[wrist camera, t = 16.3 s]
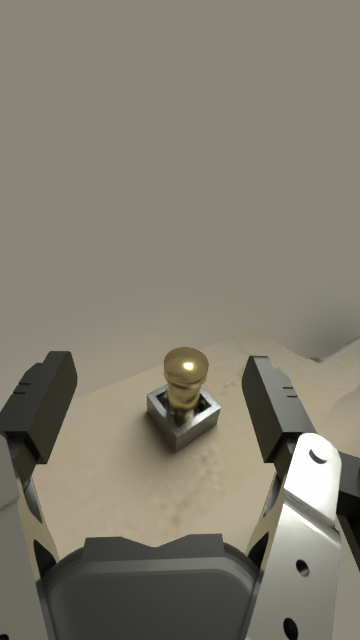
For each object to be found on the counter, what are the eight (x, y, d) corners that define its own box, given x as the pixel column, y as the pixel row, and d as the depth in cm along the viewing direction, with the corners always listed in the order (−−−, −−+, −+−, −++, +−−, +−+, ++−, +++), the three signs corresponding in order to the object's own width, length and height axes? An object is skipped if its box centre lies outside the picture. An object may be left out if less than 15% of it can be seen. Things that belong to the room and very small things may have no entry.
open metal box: (175, 452, 36) (177, 437, 34) (147, 410, 42) (146, 394, 39) (216, 423, 41) (220, 407, 38) (186, 388, 46) (188, 372, 44)
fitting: (177, 441, 37) (181, 387, 30) (156, 411, 41) (155, 357, 34) (206, 420, 40) (217, 366, 33) (184, 394, 44) (189, 342, 37)
